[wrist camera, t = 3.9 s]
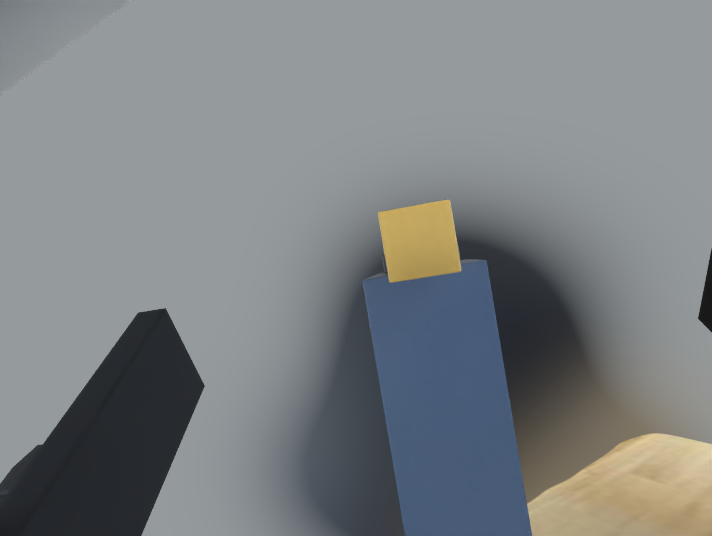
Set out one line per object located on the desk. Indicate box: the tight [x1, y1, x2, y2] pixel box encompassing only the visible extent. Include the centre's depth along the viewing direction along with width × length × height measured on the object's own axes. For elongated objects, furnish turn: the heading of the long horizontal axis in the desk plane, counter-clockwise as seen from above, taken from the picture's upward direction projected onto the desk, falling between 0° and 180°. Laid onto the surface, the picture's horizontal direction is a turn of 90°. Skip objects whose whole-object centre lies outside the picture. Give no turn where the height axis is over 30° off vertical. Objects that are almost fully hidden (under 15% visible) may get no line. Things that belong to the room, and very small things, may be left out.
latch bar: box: [378, 200, 461, 283], centre depth 32 cm, size 26×3×3 cm, turn 172°
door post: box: [363, 243, 532, 536], centre depth 36 cm, size 12×8×32 cm, turn 172°
